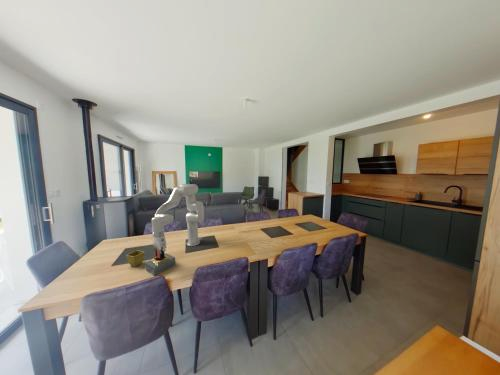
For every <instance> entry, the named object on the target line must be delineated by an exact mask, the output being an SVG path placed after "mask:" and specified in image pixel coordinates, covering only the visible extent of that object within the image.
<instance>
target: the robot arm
mask: <svg viewBox="0 0 500 375" xmlns="http://www.w3.org/2000/svg"><path fill="white" fill-rule="evenodd" d="M198 191H199V186H198V184H195V183H192V184H191V183H184V184H183V183H182V184H179V186H175V187H174V188H173V190H172V192H171V194H170V195H169V198H168V199H167V201H166V202H165V203H163V204H162V205H160V206H159V207H158V209H157V210H156V212H155V214H154V217H152V218H151V231H152V232H151V233H152V239H153V240H152V243H153V248H154V251H155V257H157V249H158V250H160V259H162V258H164V257H165V254H166V253H165V252H166V250H167V249H166V248H167V240H166V235H165V226H166V225H170V224H171V223H173V222H174V215H172V214H169V213H166V212H167V211H168V210H169V211H170V210H171V209H173V208H176V207H177V206H179V204H180V201H181V200H182V198H183V197H185V202H186V209H187V211H188V212H187V213H186V215H185V220H186V224H187V226H186V227H187V241H186V246H189V247H195V246H197V245H199V244H200V243H201V240H202V239H203V236H199V231H198V230H199V229H198V228H199V227H198V226H199V225H198V223H203V222H204V220H205V207H204V203H203V202H202V201H198V200H197V199H196V194H197V193H198ZM161 248H163V249H161ZM161 250H163V251H161Z"/></svg>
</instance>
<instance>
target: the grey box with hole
mask: <svg viewBox="0 0 500 375" xmlns="http://www.w3.org/2000/svg"><path fill="white" fill-rule="evenodd" d="M164 254H165V258H164V259H162V260H160V261H158V258H157V257H156V256H155V257H153V258H151V259H150V260H147V261H145V262H144V264H145V265H144V267H145V268H144V269H145V271H146V272H147V273H149V274H151V275H152V276H157V275H158V274H161V273H162V272H164V271H166V270H168V269H170V268H172V267H174V266H176V256H173V255H171V254H169V253H164Z"/></svg>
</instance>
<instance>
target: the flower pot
mask: <svg viewBox="0 0 500 375" xmlns="http://www.w3.org/2000/svg"><path fill="white" fill-rule="evenodd" d="M125 256H126V261H127V263H128V264H129V265H130V266H132V267H137V266H140V265H141V264H142V263H143V261H144V260H145V259H144V258H145V251H142V250H134V251H132V252H130V253H127V254H126V255H125Z"/></svg>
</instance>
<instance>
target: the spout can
mask: <svg viewBox="0 0 500 375" xmlns="http://www.w3.org/2000/svg"><path fill="white" fill-rule="evenodd" d="M161 249H163V248H161ZM161 251H163V250H161ZM157 258H158V261H160V260H162V259H164V258H165V257H164V258H162V259H160V250H158V249H157Z"/></svg>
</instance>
